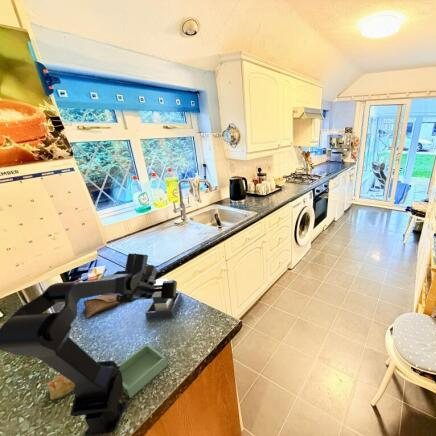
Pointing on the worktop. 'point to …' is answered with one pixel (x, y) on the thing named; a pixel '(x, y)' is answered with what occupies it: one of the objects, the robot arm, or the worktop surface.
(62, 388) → the pastry
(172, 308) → the tray
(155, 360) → the front tote
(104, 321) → the worktop surface
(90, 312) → the sunglasses case
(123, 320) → the worktop surface
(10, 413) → the worktop surface
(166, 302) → the package
